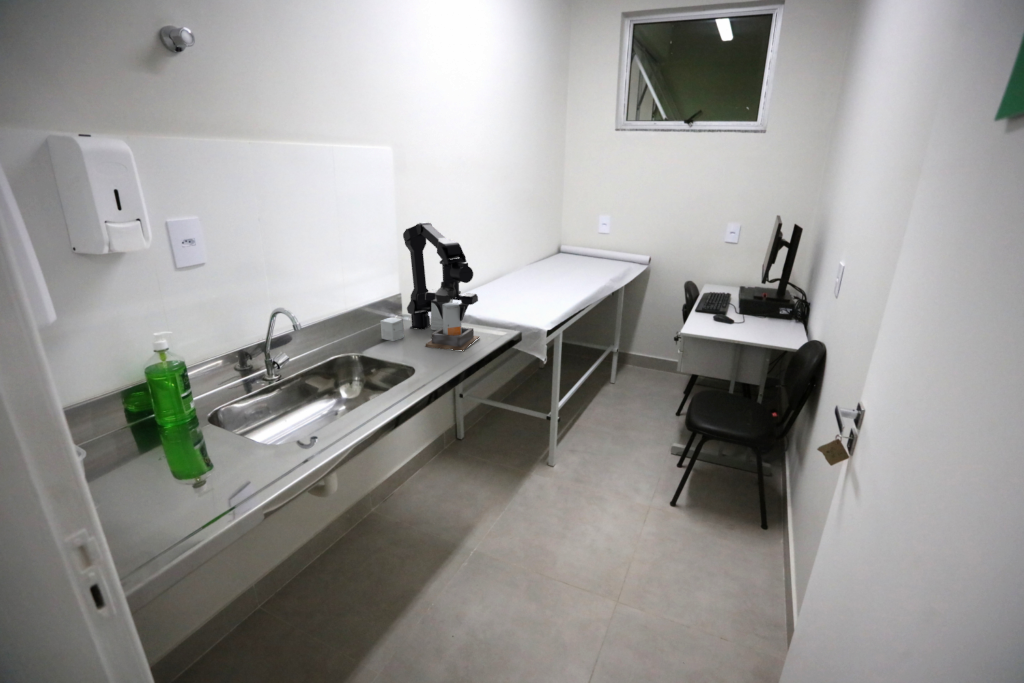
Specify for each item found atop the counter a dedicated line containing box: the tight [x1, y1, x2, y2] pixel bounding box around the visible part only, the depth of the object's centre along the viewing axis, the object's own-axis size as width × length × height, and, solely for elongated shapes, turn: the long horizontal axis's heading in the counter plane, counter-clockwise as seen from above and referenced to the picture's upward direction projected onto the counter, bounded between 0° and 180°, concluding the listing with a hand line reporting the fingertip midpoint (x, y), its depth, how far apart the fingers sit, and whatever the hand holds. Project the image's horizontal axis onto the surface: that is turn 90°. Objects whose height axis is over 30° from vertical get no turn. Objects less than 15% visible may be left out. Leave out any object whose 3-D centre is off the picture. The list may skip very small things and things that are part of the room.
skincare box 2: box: [442, 301, 462, 336], centre depth 185 cm, size 6×4×12 cm
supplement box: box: [430, 300, 454, 331], centre depth 202 cm, size 7×7×13 cm
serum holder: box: [424, 326, 480, 352], centre depth 188 cm, size 15×15×4 cm
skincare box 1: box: [380, 317, 405, 342], centre depth 192 cm, size 6×6×7 cm
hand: (452, 319), depth 185 cm, fingers closed on skincare box 2, 7 cm apart
